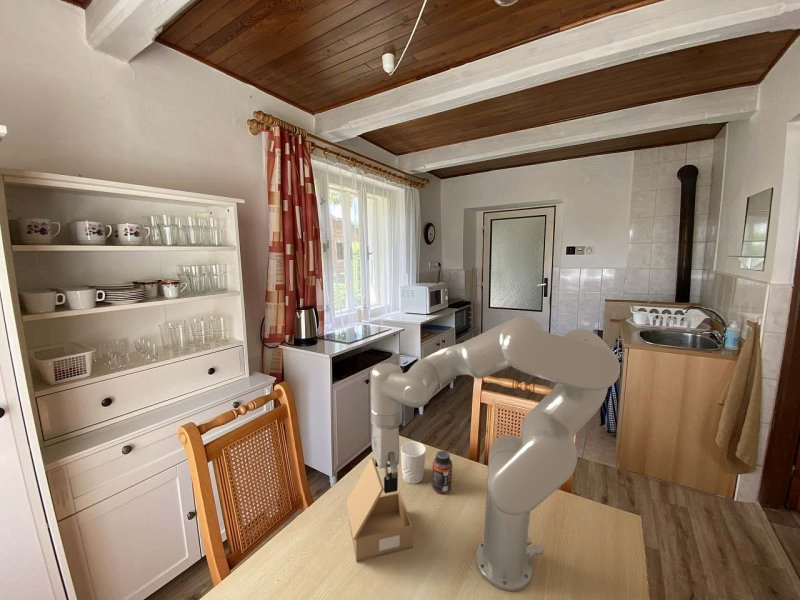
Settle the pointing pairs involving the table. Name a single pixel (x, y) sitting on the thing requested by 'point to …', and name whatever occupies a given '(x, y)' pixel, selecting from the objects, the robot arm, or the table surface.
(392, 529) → the carton
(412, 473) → the white cup
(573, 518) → the table surface
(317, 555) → the table surface
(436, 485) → the supplement bottle
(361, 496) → the cardboard box lid
